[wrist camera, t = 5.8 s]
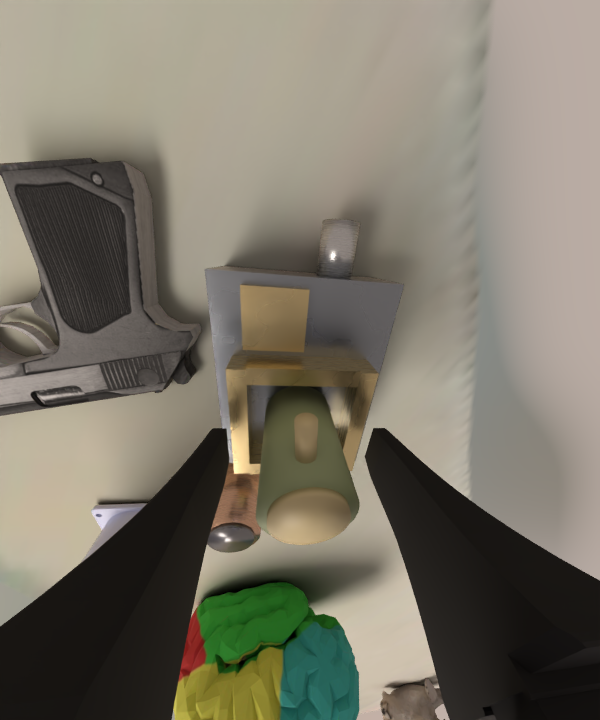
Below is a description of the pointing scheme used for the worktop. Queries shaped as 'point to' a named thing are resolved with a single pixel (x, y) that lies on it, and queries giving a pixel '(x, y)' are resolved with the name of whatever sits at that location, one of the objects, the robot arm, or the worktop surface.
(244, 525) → the copper can
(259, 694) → the brain model
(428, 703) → the animal model
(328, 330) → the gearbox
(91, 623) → the robot arm
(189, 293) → the worktop surface
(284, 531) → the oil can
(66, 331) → the handgun
